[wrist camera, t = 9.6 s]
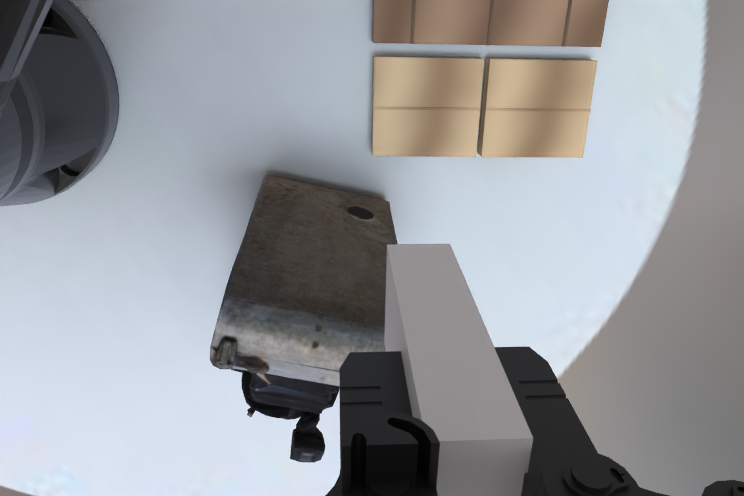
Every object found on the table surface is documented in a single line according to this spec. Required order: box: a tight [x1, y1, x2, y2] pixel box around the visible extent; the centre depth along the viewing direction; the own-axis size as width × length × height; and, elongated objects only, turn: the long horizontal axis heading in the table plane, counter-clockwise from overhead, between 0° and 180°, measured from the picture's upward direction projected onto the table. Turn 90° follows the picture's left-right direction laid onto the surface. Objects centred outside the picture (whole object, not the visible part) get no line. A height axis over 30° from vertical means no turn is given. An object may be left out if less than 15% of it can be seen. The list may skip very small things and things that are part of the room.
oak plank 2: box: [478, 58, 597, 157], centre depth 41 cm, size 7×6×1 cm
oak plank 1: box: [372, 56, 484, 157], centre depth 41 cm, size 7×6×1 cm
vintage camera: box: [210, 175, 397, 462], centre depth 38 cm, size 10×15×20 cm, turn 166°
